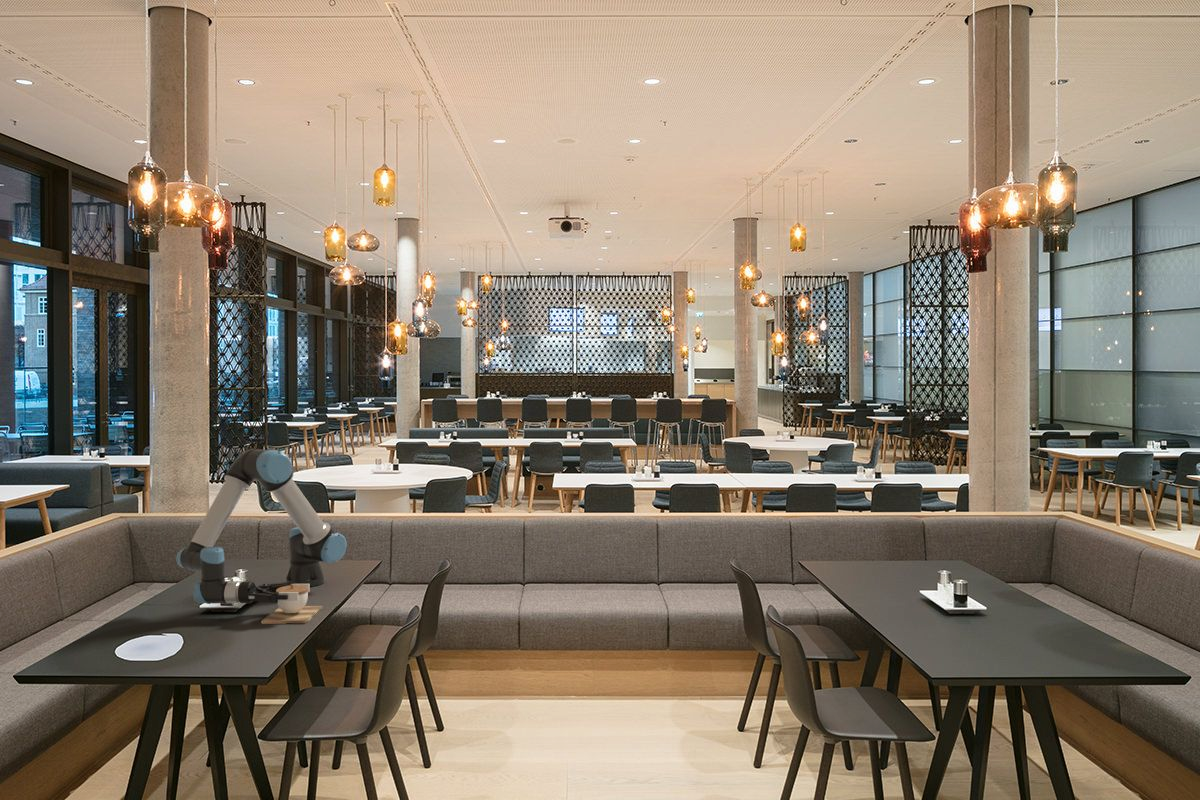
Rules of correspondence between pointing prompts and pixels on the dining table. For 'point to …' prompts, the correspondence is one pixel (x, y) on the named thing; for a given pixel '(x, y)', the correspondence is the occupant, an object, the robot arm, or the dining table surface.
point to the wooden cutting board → (291, 616)
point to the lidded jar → (293, 605)
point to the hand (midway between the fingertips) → (303, 592)
